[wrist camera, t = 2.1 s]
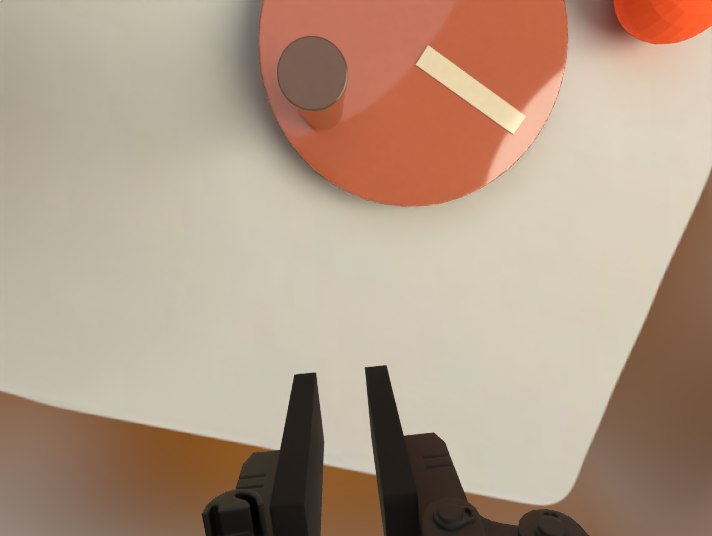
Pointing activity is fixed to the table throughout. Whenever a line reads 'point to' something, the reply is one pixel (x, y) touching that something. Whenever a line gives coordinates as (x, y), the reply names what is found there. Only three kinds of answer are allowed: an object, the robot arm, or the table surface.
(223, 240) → the table surface
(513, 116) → the orange disc
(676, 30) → the clementine
